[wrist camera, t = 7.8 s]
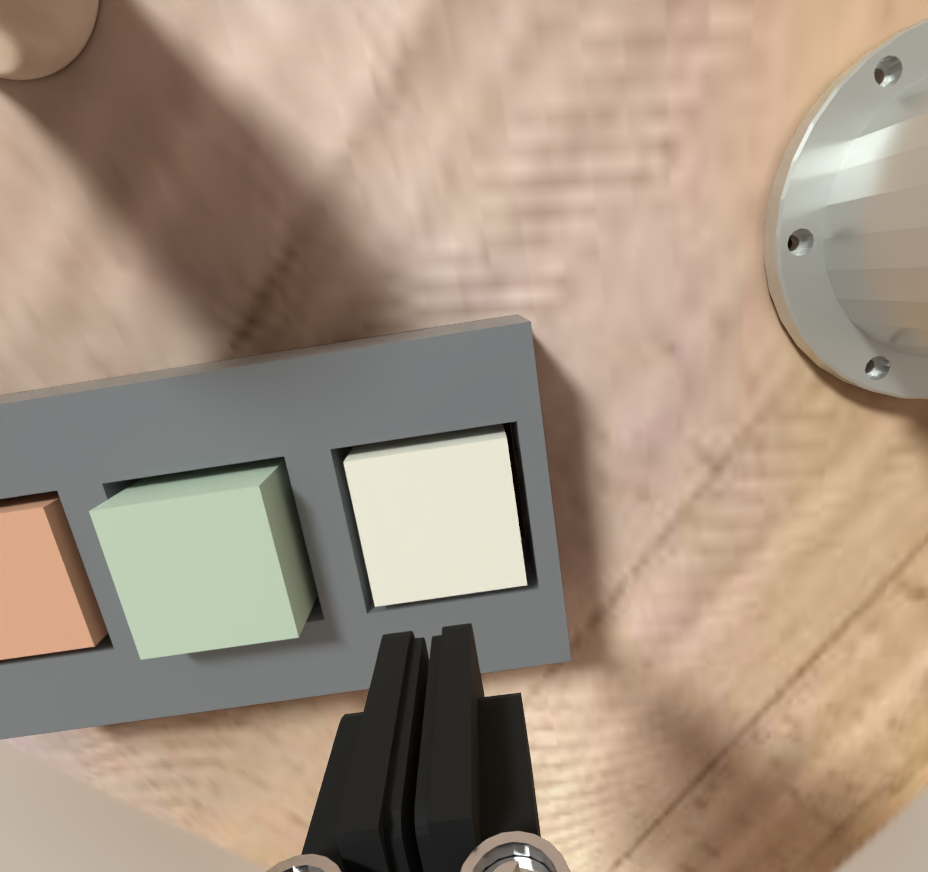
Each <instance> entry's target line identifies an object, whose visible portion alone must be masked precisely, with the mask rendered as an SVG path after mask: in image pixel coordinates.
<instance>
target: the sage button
mask: <svg viewBox="0 0 928 872" xmlns="http://www.w3.org/2000/svg"><path fill="white" fill-rule="evenodd" d="M89 513H90V516H91V519H92V522H93V525H94V527H95V530H96V533H97V536H98V539H99V542H100V545H101V547H102V550H103V553H104V556H105V559H106V562H107V565H108V568H109V570H110V573H111V576H112V579H113V582H114V585H115V588H116V590H117V593H118V596H119V599H120V602H121V605H122V608H123V611H124V613H125V616H126V619H127V622H128V625H129V628H130V631H131V633H132V636H133V639H134V642H135V645H136V648H137V651H138V654H139V656H140V659H141V660H143V659H150V658H157V657H164V656H171V655H178V654H186V653H193V652H200V651H207V650H214V649H221V648H228V647H235V646H242V645H250V644H257V643H264V642H271V641H278V640H285V639H292V638H299V636H300V634H301V632H302V629H303V627H304V625H305V623H306V620H307V618H308V616H309V614H310V612H311V609H312V607H313V605H314V603H315V600H316V598H317V596H318V592H317V588H316V584H315V580H314V576H313V571H312V567H311V563H310V559H309V555H308V551H307V547H306V543H305V539H304V535H303V531H302V527H301V523H300V519H299V515H298V511H297V506H296V502H295V498H294V494H293V490H292V486H291V482H290V478H289V474H288V470H287V466H286V462H285V458H284V456H282V457H276V458H269V459H262V460H256V461H249V462H243V463H236V464H229V465H223V466H216V467H209V468H203V469H196V470H189V471H183V472H176V473H170V474H163V475H156V476H150V477H144V478H142V479H140V480H139V481H137V482H136V483H134V484H132V485H131V486H129V487H127V488H126V489H124V490H123V491H121V492H119V493H118V494H116V495H114V496H113V497H111V498H110V499H108V500H106V501H105V502H103V503H101V504H100V505H98V506H97V507H95V508H93V509H92V510H90V511H89Z"/></svg>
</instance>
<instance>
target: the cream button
mask: <svg viewBox="0 0 928 872" xmlns="http://www.w3.org/2000/svg"><path fill="white" fill-rule="evenodd" d="M343 463H344V468H345V472H346V477H347V481H348V486H349V490H350V495H351V500H352V504H353V509H354V513H355V518H356V522H357V527H358V532H359V536H360V541H361V545H362V550H363V555H364V559H365V564H366V568H367V573H368V577H369V582H370V587H371V591H372V596H373V600H374V605H375V607H378V606H385V605H392V604H399V603H406V602H413V601H420V600H427V599H434V598H441V597H448V596H455V595H462V594H469V593H476V592H483V591H491V590H498V589H505V588H512V587H519V586H526V585H527V580H526V572H525V565H524V558H523V551H522V544H521V536H520V529H519V522H518V515H517V507H516V500H515V493H514V486H513V479H512V471H511V464H510V457H509V450H508V442H507V437H506V433H505V430H504V427H503V424H502V423H501V424H495V425H488V426H481V427H475V428H468V429H462V430H455V431H448V432H442V433H435V434H428V435H422V436H415V437H408V438H402V439H395V440H389V441H382V442H375V443H369V444H362V445H355V446H353V448H352V449H351V451H350V453H349V454H348V456H347V457H346V459H345V460H344V462H343Z"/></svg>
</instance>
